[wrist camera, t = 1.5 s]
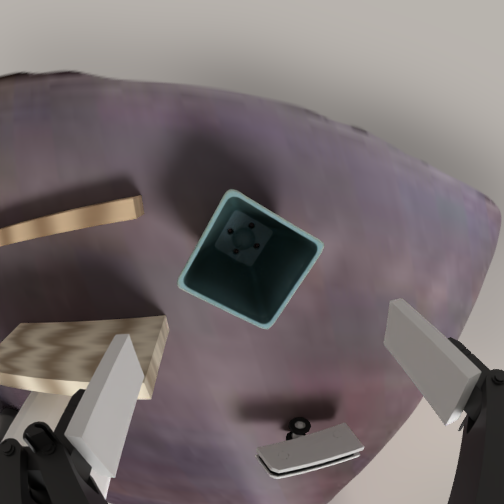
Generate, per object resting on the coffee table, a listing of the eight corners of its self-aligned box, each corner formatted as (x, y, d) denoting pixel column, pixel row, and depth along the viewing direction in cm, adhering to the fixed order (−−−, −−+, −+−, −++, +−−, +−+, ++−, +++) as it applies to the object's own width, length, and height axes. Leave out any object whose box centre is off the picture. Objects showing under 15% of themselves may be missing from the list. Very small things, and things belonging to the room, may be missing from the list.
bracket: (334, 406, 42) (248, 427, 37) (365, 445, 33) (271, 477, 28) (329, 421, 43) (247, 442, 38) (357, 458, 34) (268, 489, 29)
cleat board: (25, 334, 31) (-15, 381, 20) (-8, 230, 27) (-66, 256, 15) (169, 329, 33) (151, 399, 21) (141, 195, 28) (94, 213, 17)
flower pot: (186, 253, 31) (173, 286, 22) (227, 180, 29) (229, 186, 20) (256, 289, 33) (268, 332, 24) (298, 222, 31) (327, 244, 22)
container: (147, 406, 37) (127, 506, 20) (97, 429, 38) (73, 508, 21) (75, 340, 33) (17, 434, 15) (36, 375, 34) (-10, 449, 17)
